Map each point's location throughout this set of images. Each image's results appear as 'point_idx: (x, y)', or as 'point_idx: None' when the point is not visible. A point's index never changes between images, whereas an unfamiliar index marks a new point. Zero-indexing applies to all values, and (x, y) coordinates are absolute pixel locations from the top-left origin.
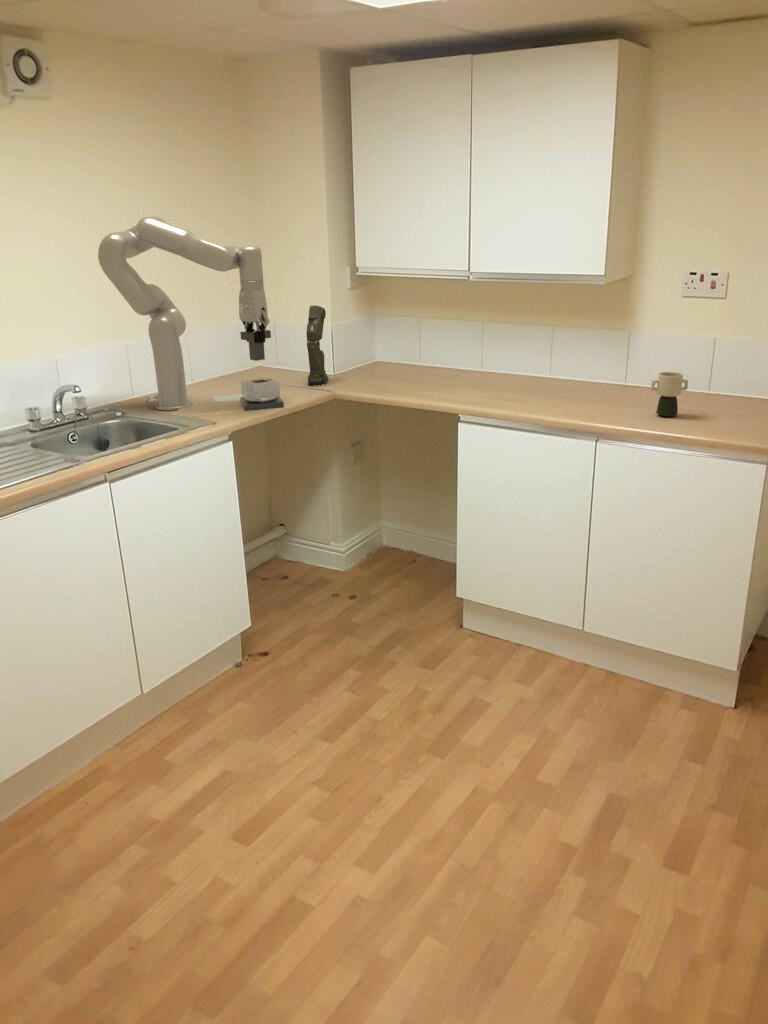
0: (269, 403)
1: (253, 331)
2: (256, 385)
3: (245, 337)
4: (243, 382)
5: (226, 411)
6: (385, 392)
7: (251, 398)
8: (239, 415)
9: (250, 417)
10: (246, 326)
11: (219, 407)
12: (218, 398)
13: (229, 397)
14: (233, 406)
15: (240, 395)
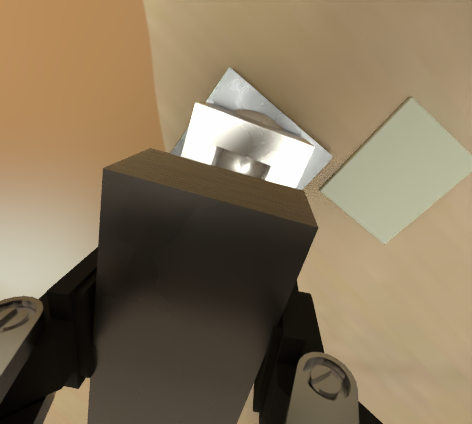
0: (180, 139)
1: (177, 331)
2: (192, 116)
3: (187, 167)
4: (290, 138)
5: (288, 25)
6: (88, 380)
7: (232, 111)
8: (202, 3)
9: (147, 3)
10: (302, 395)
11: (356, 61)
12: (436, 147)
13: (404, 178)
14: (317, 101)
15: (385, 216)
